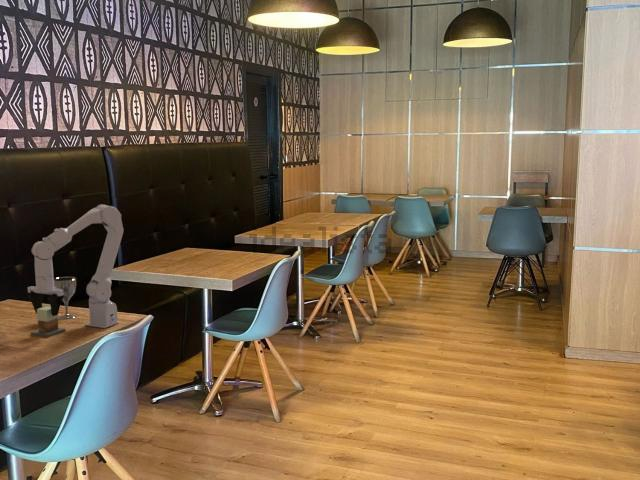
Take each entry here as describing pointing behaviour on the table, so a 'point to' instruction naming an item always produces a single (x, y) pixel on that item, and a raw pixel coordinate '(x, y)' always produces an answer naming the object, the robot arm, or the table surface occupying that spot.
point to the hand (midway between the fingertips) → (46, 314)
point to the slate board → (45, 334)
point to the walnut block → (48, 325)
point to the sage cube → (45, 314)
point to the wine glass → (66, 292)
